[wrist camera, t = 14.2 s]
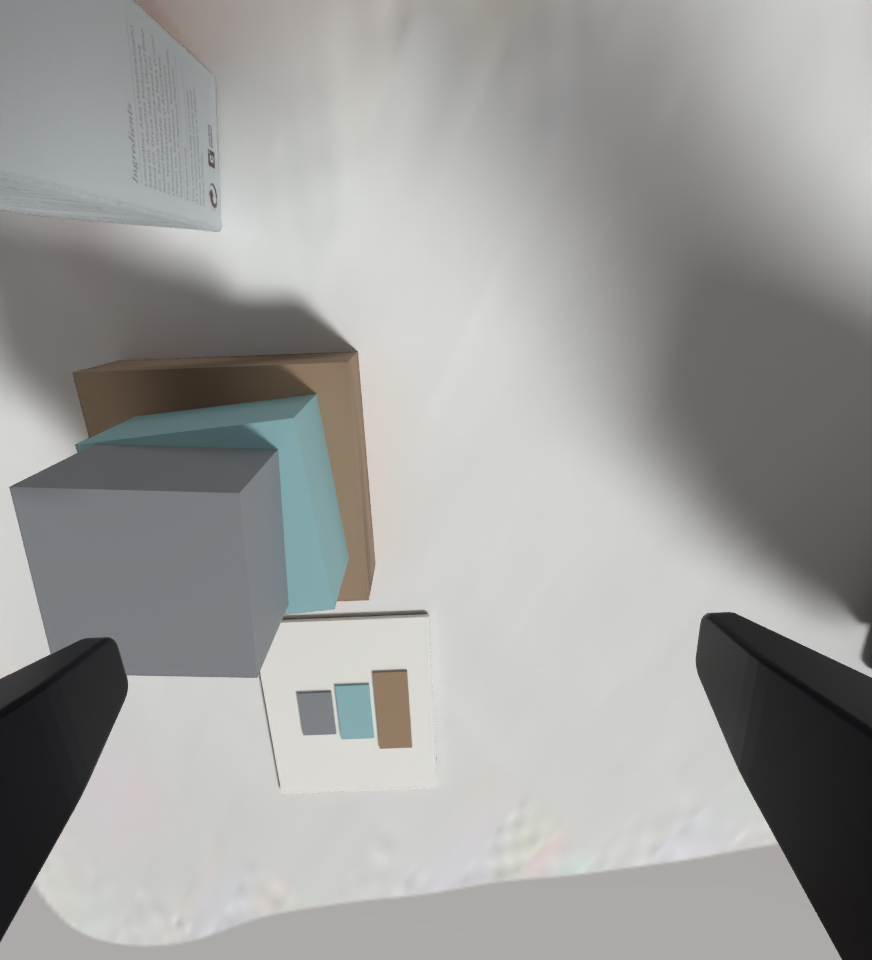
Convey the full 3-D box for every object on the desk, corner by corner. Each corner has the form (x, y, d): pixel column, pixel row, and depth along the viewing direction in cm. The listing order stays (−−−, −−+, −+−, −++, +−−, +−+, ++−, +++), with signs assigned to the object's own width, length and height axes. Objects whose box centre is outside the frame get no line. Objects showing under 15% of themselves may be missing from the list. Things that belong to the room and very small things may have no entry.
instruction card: (429, 614, 22) (429, 618, 22) (437, 784, 25) (437, 789, 25) (252, 620, 22) (250, 625, 22) (282, 790, 25) (281, 795, 25)
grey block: (277, 449, 14) (239, 493, 11) (288, 604, 15) (256, 677, 12) (95, 444, 14) (9, 487, 11) (124, 600, 15) (56, 673, 12)
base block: (359, 349, 19) (347, 362, 16) (376, 558, 22) (368, 600, 19) (125, 358, 19) (72, 373, 16) (172, 566, 22) (133, 609, 19)
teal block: (316, 393, 16) (293, 417, 14) (349, 557, 18) (334, 609, 15) (135, 416, 16) (75, 444, 14) (185, 576, 18) (141, 630, 16)
